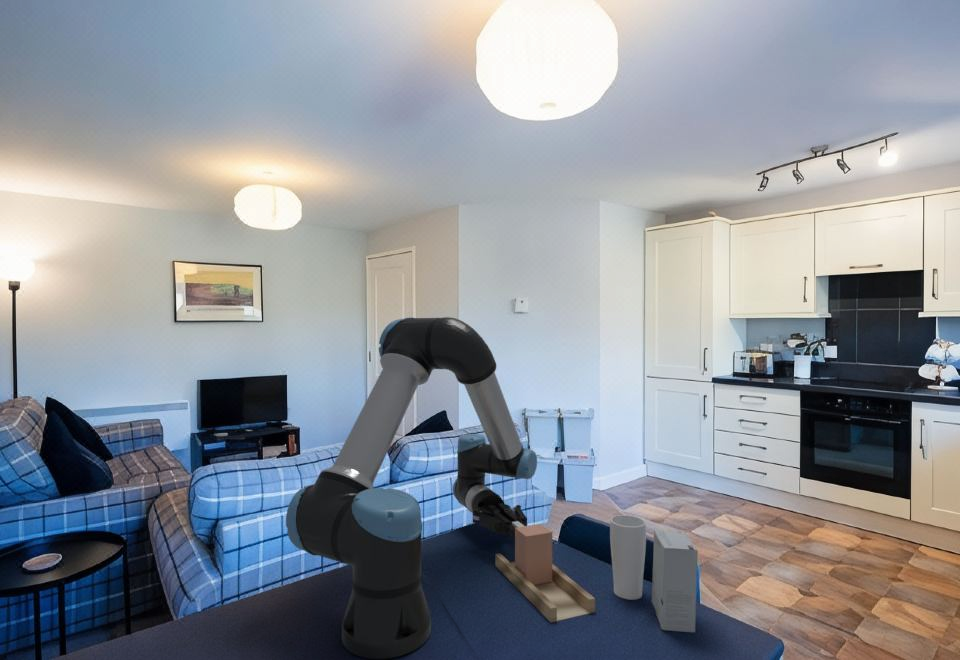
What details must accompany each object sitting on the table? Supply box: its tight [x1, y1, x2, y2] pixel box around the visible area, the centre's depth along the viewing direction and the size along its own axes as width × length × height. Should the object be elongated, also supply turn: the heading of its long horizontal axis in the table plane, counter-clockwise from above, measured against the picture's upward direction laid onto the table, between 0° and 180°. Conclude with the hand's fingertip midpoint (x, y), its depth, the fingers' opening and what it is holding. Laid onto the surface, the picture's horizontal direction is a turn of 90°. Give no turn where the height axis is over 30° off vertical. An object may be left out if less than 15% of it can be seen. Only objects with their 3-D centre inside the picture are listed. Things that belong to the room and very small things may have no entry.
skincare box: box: [651, 529, 699, 633], centre depth 92 cm, size 8×6×15 cm
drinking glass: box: [609, 514, 647, 600], centre depth 100 cm, size 7×7×15 cm
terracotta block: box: [514, 523, 553, 585], centre depth 105 cm, size 5×6×10 cm
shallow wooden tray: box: [494, 553, 596, 623], centre depth 103 cm, size 24×9×3 cm, turn 22°
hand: (528, 538), depth 108 cm, fingers closed
